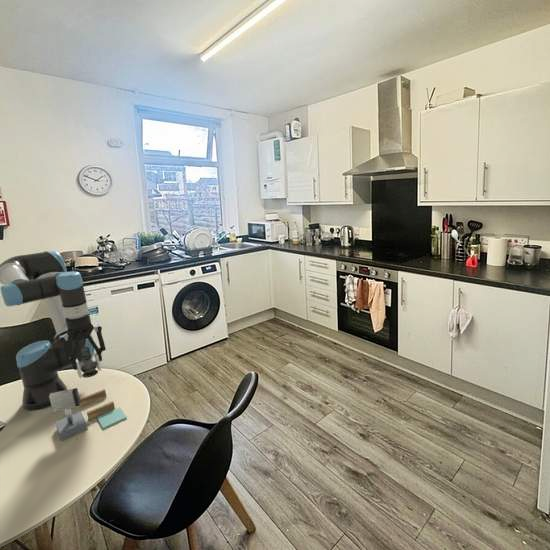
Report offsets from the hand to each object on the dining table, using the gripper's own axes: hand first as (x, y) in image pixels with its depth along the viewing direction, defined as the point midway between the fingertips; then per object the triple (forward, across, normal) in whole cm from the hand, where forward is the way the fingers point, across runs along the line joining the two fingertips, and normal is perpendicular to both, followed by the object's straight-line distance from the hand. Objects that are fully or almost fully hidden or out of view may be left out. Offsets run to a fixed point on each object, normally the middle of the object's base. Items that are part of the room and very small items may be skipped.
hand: (89, 372), depth 127 cm
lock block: (+15, -10, -8) cm, 19 cm away
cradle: (+15, 0, -1) cm, 15 cm away
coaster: (+15, +2, -12) cm, 19 cm away
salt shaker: (+1, 0, 0) cm, 1 cm away
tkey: (+11, -10, -8) cm, 17 cm away
